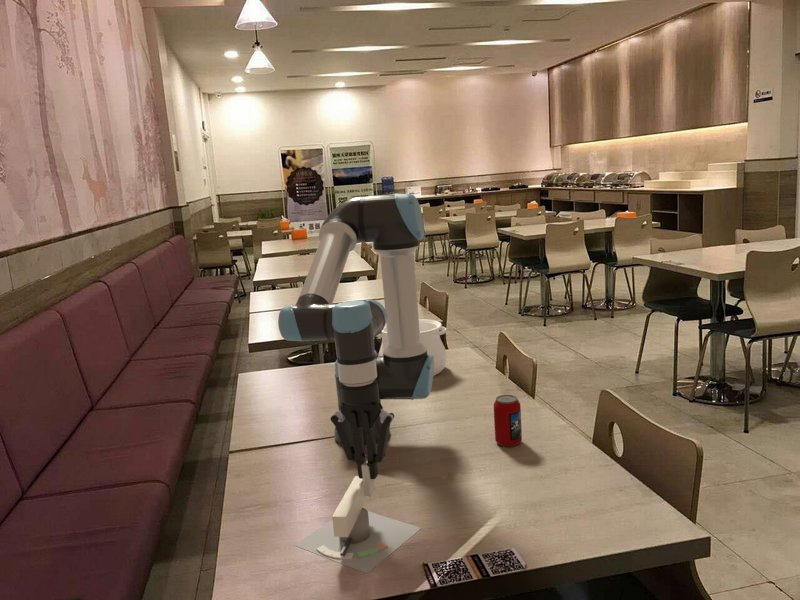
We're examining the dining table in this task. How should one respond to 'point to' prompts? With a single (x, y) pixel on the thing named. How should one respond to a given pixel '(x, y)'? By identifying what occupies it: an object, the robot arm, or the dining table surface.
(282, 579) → the dining table surface
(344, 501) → the rotary bar knob
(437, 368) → the pot
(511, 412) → the beverage can
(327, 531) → the tuner board
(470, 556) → the dining table surface
